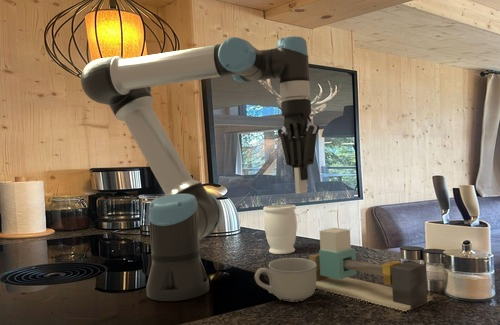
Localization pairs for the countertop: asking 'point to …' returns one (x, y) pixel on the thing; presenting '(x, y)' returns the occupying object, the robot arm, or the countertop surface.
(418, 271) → the rail
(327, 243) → the sleeve
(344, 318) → the countertop surface
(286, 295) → the teacup
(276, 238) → the jar
